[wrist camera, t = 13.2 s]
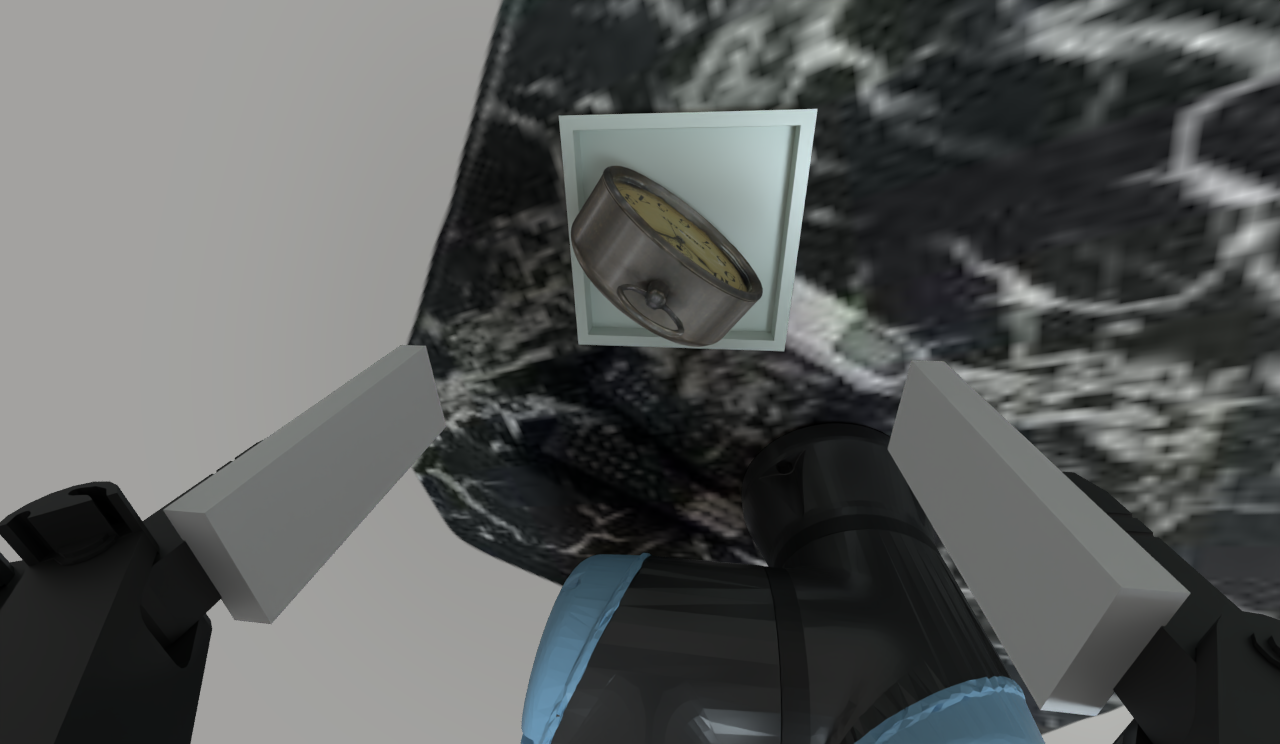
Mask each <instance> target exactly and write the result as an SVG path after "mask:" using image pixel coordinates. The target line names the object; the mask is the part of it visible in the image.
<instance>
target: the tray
mask: <svg viewBox="0 0 1280 744" xmlns="http://www.w3.org/2000/svg"><path fill="white" fill-rule="evenodd" d="M816 116H817V109H797V110H759V111H721V112H682V113H644V114H606V115H568V116H559V124H560V135H561V147H562V159H563V170H564V182H565V193H566V205H567V217H568V228H569V240H570V252H571V263H572V275H573V286H574V298H575V310H576V321H577V333H578V344H581V345H611V346H641V347H671V348H701V349H731V350H761V351H784V350H785V342H786V335H787V328H788V320H789V313H790V306H791V298H792V291H793V284H794V276H795V269H796V262H797V255H798V247H799V240H800V233H801V225H802V218H803V211H804V203H805V196H806V189H807V181H808V174H809V167H810V160H811V152H812V145H813V138H814V130H815V123H816ZM610 166H623V167H626V168H629V169H632V170H634V171H636V172H638V173H640V174H642V175H644V176H646V177H647V178H649V179H651V180H653V181H654V182H656V183H658V184H660V185H661V186H663V187H664V188H665V189H667V190H668V191H670V192H671V193H673V194H674V195H676V196H677V197H679V198H680V199H681V200H683V201H684V202H685V203H687V204H688V205H689V206H690V207H692V208H693V209H694V210H695V211H697V212H698V213H699V214H700V215H702V216H703V217H704V218H705V219H706V220H707V221H709V222H710V223H711V224H712V225H713V226H714V227H715V228H716V229H717V230H718V231H719V232H720V233H721V234H722V235H724V236H725V238H726V239H727V240H728V241H729V242H730V243H731V244H732V245H734V246H735V247H736V248H737V250H738V251H739V252H740V253H741V254H742V256H743V257H744V258H745V259H746V260H747V262H748V263H749V264H750V266H751V267H752V268H753V270H754V271H755V273H756V274H757V276H758V278H759V280H760V282H761V284H762V288H763V294H762V297H761V298H760V299H759V300H758V301H757V302H756V303H755V304H754V305H753V306H752V307H751V308H750V309H749V310H748V311H747V313H746V314H745V315H744V316H743V317H742V318H741V319H740V320H739V321H738V322H737V323H736V324H735V325H734V326H733V327H732V328H731V329H730V331H729V332H728V333H727V334H726V335H725V336H724V337H723V338H722V339H721V340H720V341H718V342H717V343H714V344H712V345H708V346H702V347H693V346H686V345H681V344H678V343H675V342H672V341H669V340H667V339H665V338H662V337H660V336H658V335H656V334H654V333H652V332H650V331H649V330H647V329H645V328H644V327H642V326H641V325H639V324H637V323H636V322H635V321H633V320H632V319H630V318H629V317H628V316H626V315H625V314H624V313H622V312H621V311H620V310H619V309H617V308H616V307H615V306H614V305H613V304H612V303H611V302H610V301H609V300H608V299H607V298H605V297H604V296H603V295H602V293H601V292H600V291H599V290H598V289H597V288H596V287H595V286H594V284H593V283H592V282H591V281H590V279H589V278H588V277H587V275H586V274H585V272H584V271H583V269H582V268H581V266H580V264H579V262H578V260H577V258H576V256H575V253H574V250H573V247H572V242H571V228H572V224H573V222H574V220H575V218H576V216H577V215H578V213H579V212H580V210H581V208H582V207H583V205H584V204H585V202H586V200H587V199H588V197H589V196H590V194H591V193H592V191H593V189H594V188H595V186H596V185H597V183H598V181H599V180H600V178H601V176H602V174H603V171H604V170H605V169H606V168H607V167H610Z"/></svg>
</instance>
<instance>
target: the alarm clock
mask: <svg viewBox="0 0 1280 744" xmlns="http://www.w3.org/2000/svg"><path fill="white" fill-rule="evenodd" d="M571 242H572V247H573V250H574V253H575V256H576V258H577V260H578V262H579V264H580V266H581V268H582V269H583V271H584V272H585V274H586V275H587V277H588V278H589V279H590V281H591V282H592V283H593V284H594V286H595V287H596V288H597V289H598V290H599V291H600V292H601V293H602V295H603V296H604V297H605V298H607V299H608V300H609V301H610V302H611V303H612V304H613V305H614V306H615V307H616V308H617V309H619V310H620V311H621V312H622V313H624V314H625V315H626V316H628V317H629V318H630V319H632V320H633V321H635V322H636V323H637V324H639V325H641V326H642V327H644V328H645V329H647V330H649V331H650V332H652V333H654V334H656V335H658V336H660V337H662V338H665V339H667V340H669V341H672V342H675V343H678V344H681V345H686V346H693V347H702V346H708V345H712V344H714V343H717V342H718V341H720V340H721V339H722V338H723V337H724V336H725V335H726V334H727V333H728V332H729V331H730V329H731V328H732V327H733V326H734V325H735V324H736V323H737V322H738V321H739V320H740V319H741V318H742V317H743V316H744V315H745V314H746V313H747V311H748V310H749V309H750V308H751V307H752V306H753V305H754V304H755V303H756V302H757V301H758V300H759V299H760V298H761V297H762V294H763V288H762V284H761V282H760V280H759V278H758V276H757V274H756V273H755V271H754V270H753V268H752V267H751V266H750V264H749V263H748V262H747V260H746V259H745V258H744V257H743V256H742V254H741V253H740V252H739V251H738V250H737V248H736V247H735V246H734V245H732V244H731V243H730V242H729V241H728V240H727V239H726V238H725V236H724V235H722V234H721V233H720V232H719V231H718V230H717V229H716V228H715V227H714V226H713V225H712V224H711V223H710V222H709V221H707V220H706V219H705V218H704V217H703V216H702V215H700V214H699V213H698V212H697V211H695V210H694V209H693V208H692V207H690V206H689V205H688V204H687V203H685V202H684V201H683V200H681V199H680V198H679V197H677V196H676V195H674V194H673V193H671V192H670V191H668V190H667V189H665V188H664V187H663V186H661V185H660V184H658V183H656V182H654V181H653V180H651V179H649V178H647V177H646V176H644V175H642V174H640V173H638V172H636V171H634V170H632V169H629V168H626V167H623V166H610V167H607V168H606V169H605V170H604V171H603V174H602V176H601V178H600V180H599V181H598V183H597V185H596V186H595V188H594V189H593V191H592V193H591V194H590V196H589V197H588V199H587V200H586V202H585V204H584V205H583V207H582V208H581V210H580V212H579V213H578V215H577V216H576V218H575V220H574V222H573V224H572V228H571Z"/></svg>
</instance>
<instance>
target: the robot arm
mask: <svg viewBox="0 0 1280 744" xmlns="http://www.w3.org/2000/svg"><path fill="white" fill-rule="evenodd" d="M445 427H446V423H445V419H444V415H443V411H442V408H441V404H440V400H439V396H438V392H437V388H436V384H435V380H434V376H433V372H432V368H431V365H430V361H429V357H428V353H427V349H426V346H413V345H400V346H399V347H398V348H396V349H395V350H393V351H392V352H391V353H389V354H387V355H386V356H385V357H383V358H382V359H380V360H379V361H377V362H376V363H374V364H373V365H371V366H370V367H369V368H367V369H366V370H364V371H363V372H361V373H360V374H358V375H357V376H356V377H354V378H353V379H351V380H350V381H348V382H347V383H345V384H344V385H343V386H341V387H340V388H338V389H337V390H336V391H334V392H333V393H331V394H330V395H328V396H327V397H326V398H324V399H322V400H321V401H319V402H318V403H317V404H315V405H314V406H312V407H311V408H309V409H308V410H306V411H305V412H304V413H302V414H301V415H299V416H298V417H296V418H295V419H294V420H292V421H291V422H289V423H288V424H286V425H285V426H284V427H282V428H281V429H279V430H278V431H276V432H275V433H273V434H272V435H270V436H269V437H267V438H266V439H264V440H262V441H260V442H258V443H256V444H255V445H253V446H252V447H250V448H249V449H247V450H246V451H244V452H243V453H241V454H240V455H239V456H237V457H236V458H235V460H234V461H230V462H228V463H227V464H225V465H224V466H222V467H221V468H220V469H218V470H217V472H216V473H215V474H211V475H209V476H208V477H206V478H205V479H204V480H202V481H201V482H199V483H198V484H196V485H195V486H193V487H192V488H191V489H189V490H188V491H186V492H185V493H183V494H182V495H180V496H179V497H177V498H176V499H174V500H173V501H172V502H170V503H169V504H167V505H166V506H164V507H163V508H161V509H160V510H159V511H157V512H156V513H154V514H153V515H151V516H150V517H148V518H147V519H146V520H144V521H142V520H141V519H140V517H139V516H138V514H137V513H136V512H135V510H134V509H133V507H132V506H131V504H130V503H129V502H128V500H127V498H125V496H124V494H123V493H122V491H121V490H120V488H119V487H118V486H117V485H116V484H113V483H111V482H91V483H86V484H81V485H76V486H72V487H69V488H66V489H63V490H60V491H57V492H54V493H51V494H49V495H47V496H44V497H42V498H40V499H38V500H35V501H33V502H31V503H29V504H27V505H25V506H23V507H22V508H20V509H18V510H17V511H15V512H13V513H12V514H10V515H8V516H7V517H6V518H5V519H3V520H2V521H1V522H0V535H1V536H2V537H3V538H4V539H5V540H6V541H7V543H8V544H9V545H10V546H11V547H12V548H13V549H14V550H15V552H16V553H17V554H18V555H19V556H20V557H21V558H22V559H23V560H22V561H16V562H10V563H9V561H8V560H7V559H6V558H5V557H4V556H3V555H2V554H1V553H0V744H190V743H191V737H192V732H193V727H194V722H195V716H196V711H197V706H198V700H199V695H200V690H201V685H202V679H203V674H204V669H205V664H206V658H207V653H208V648H209V642H210V637H211V632H212V626H211V620H210V619H209V617H208V616H207V615H206V612H207V611H208V610H209V609H211V607H212V606H214V605H215V604H216V603H217V602H218V601H219V600H220V599H221V600H222V601H223V603H224V604H225V606H226V607H227V609H228V610H229V612H230V613H231V615H232V616H233V618H234V619H235V620H240V621H249V622H258V623H266V624H272V623H273V621H274V620H275V619H276V618H277V617H278V616H279V615H280V613H281V612H282V611H283V610H284V609H285V608H286V607H287V606H288V604H289V603H290V602H291V601H292V600H293V599H294V598H295V597H296V595H297V594H298V593H299V592H300V591H301V590H302V589H303V588H304V586H305V585H306V584H307V583H308V582H309V581H310V580H311V578H312V577H313V576H314V575H315V574H316V573H317V572H318V570H319V569H320V568H321V567H322V566H323V565H324V564H325V563H326V561H327V560H328V559H329V558H330V557H331V556H332V555H333V554H334V553H335V551H336V550H337V549H338V548H339V547H340V546H341V545H342V543H343V542H344V541H345V540H346V539H347V538H348V537H349V536H350V534H351V533H352V532H353V531H354V530H355V529H356V528H357V527H358V525H359V524H360V523H361V522H362V521H363V520H364V519H365V518H366V516H367V515H368V514H369V513H370V512H371V511H372V510H373V509H374V507H375V506H376V505H377V504H378V503H379V502H380V501H381V499H382V498H383V497H384V496H385V495H386V494H387V493H388V492H389V490H390V489H391V488H392V487H393V486H394V485H395V484H396V483H397V481H398V480H399V479H400V478H401V477H402V476H403V475H404V473H405V472H406V471H407V470H408V469H409V468H410V467H411V466H412V464H413V463H414V462H415V461H416V460H417V459H418V458H419V457H420V455H421V454H422V453H423V452H424V451H425V450H426V449H427V448H428V446H429V445H430V444H431V443H432V442H433V441H434V440H435V439H436V437H437V436H438V435H439V434H440V433H441V432H442V431H443V429H444V428H445ZM741 496H742V506H743V515H744V519H745V523H746V526H747V528H748V531H749V533H750V535H751V537H752V538H753V540H754V542H755V544H756V545H757V547H758V549H759V551H760V552H761V554H762V556H763V558H764V559H765V561H766V563H767V565H768V566H769V567H764V566H759V565H747V564H736V563H725V562H714V561H702V560H691V559H680V558H668V557H657V556H652V555H651V554H649V553H642V554H641V555H611V554H599V555H594V556H591V557H589V558H587V559H585V560H584V561H582V562H581V563H580V564H579V565H578V566H577V567H576V568H575V569H574V570H573V571H572V573H571V574H570V575H569V577H568V578H567V580H566V581H565V583H564V585H563V587H562V589H561V591H560V593H559V595H558V597H557V599H556V601H555V604H554V606H553V608H552V611H551V613H550V616H549V618H548V621H547V623H546V626H545V629H544V632H543V635H542V638H541V641H540V644H539V647H538V650H537V653H536V657H535V661H534V664H533V668H532V672H531V676H530V680H529V684H528V689H527V693H526V698H525V703H524V709H523V716H522V732H523V736H522V740H521V744H1045V742H1044V740H1043V738H1042V736H1041V734H1040V732H1039V730H1038V727H1037V725H1036V723H1035V721H1034V719H1033V717H1032V715H1031V713H1030V711H1029V709H1028V706H1027V704H1026V702H1025V696H1024V694H1023V691H1022V689H1021V688H1020V687H1019V685H1018V684H1017V683H1016V682H1015V681H1014V680H1012V678H1011V677H1010V675H1009V673H1008V671H1007V670H1006V668H1005V666H1004V664H1003V663H1002V661H1001V659H1000V657H999V656H998V654H997V652H996V650H995V649H994V647H993V645H992V643H991V642H990V640H989V638H988V636H987V635H986V633H985V631H984V629H983V628H982V626H981V624H980V623H979V621H978V619H977V617H976V616H975V614H974V612H973V610H972V609H971V607H970V605H969V603H968V602H967V600H966V598H965V596H964V595H963V593H962V591H961V589H960V588H959V586H958V584H957V582H956V581H955V579H954V577H953V575H952V574H951V572H950V570H949V568H948V567H947V565H946V563H945V562H944V560H943V558H942V557H941V555H940V553H939V551H938V549H937V548H936V546H935V544H934V535H933V528H934V529H935V531H936V533H937V534H938V536H939V538H940V539H941V541H942V543H943V545H944V546H945V548H946V550H947V551H948V553H949V555H950V557H951V558H952V560H953V562H954V563H955V565H956V567H957V568H958V570H959V572H960V574H961V575H962V577H963V579H964V580H965V582H966V584H967V585H968V587H969V589H970V591H971V592H972V594H973V596H974V597H975V599H976V601H977V603H978V604H979V606H980V608H981V609H982V611H983V613H984V614H985V616H986V618H987V620H988V621H989V623H990V625H991V626H992V628H993V630H994V631H995V633H996V635H997V637H998V638H999V640H1000V642H1001V643H1002V645H1003V647H1004V649H1005V650H1006V652H1007V654H1008V655H1009V657H1010V659H1011V660H1012V662H1013V664H1014V666H1015V667H1016V669H1017V671H1018V672H1019V674H1020V676H1021V677H1022V679H1023V681H1024V683H1025V684H1026V686H1027V688H1028V689H1029V691H1030V693H1031V695H1032V696H1033V698H1034V700H1035V701H1036V703H1037V705H1038V706H1039V708H1040V710H1047V711H1056V712H1065V713H1074V714H1083V715H1092V716H1096V715H1097V714H1098V713H1099V711H1100V710H1101V709H1102V708H1103V706H1104V705H1105V704H1106V702H1107V701H1108V700H1109V698H1110V697H1111V696H1112V695H1113V693H1114V692H1115V693H1116V694H1117V696H1118V697H1119V698H1120V700H1121V701H1122V703H1123V704H1124V705H1125V707H1126V708H1127V709H1128V711H1129V712H1130V713H1131V715H1132V716H1133V717H1134V719H1133V720H1132V722H1131V723H1130V724H1129V725H1128V726H1127V728H1126V729H1125V730H1124V731H1123V732H1122V733H1121V735H1120V736H1119V737H1118V738H1117V739H1116V740H1115V742H1114V743H1113V744H1280V620H1277V619H1275V618H1272V617H1269V616H1266V615H1263V614H1256V613H1250V612H1244V611H1241V610H1240V609H1239V608H1238V607H1237V606H1236V605H1235V604H1233V603H1232V602H1231V601H1230V600H1229V599H1228V598H1227V597H1226V596H1224V595H1223V594H1222V593H1221V592H1220V591H1219V590H1218V589H1217V588H1215V587H1214V586H1213V585H1212V584H1211V583H1210V582H1209V581H1207V580H1206V579H1205V578H1204V577H1203V576H1202V575H1201V574H1200V573H1198V572H1197V571H1196V570H1195V569H1194V568H1193V567H1192V566H1190V565H1189V564H1188V563H1187V562H1186V561H1185V560H1184V559H1183V558H1181V557H1180V556H1179V555H1178V554H1177V553H1176V552H1175V551H1173V550H1172V549H1171V548H1170V547H1169V546H1168V545H1167V544H1166V543H1164V542H1163V541H1162V540H1161V539H1160V538H1159V537H1154V536H1153V532H1152V531H1151V530H1150V529H1149V528H1147V527H1146V526H1145V525H1144V524H1143V523H1142V522H1141V521H1139V520H1138V519H1137V518H1132V513H1130V512H1129V511H1128V510H1127V509H1126V508H1125V507H1124V506H1122V505H1121V504H1120V503H1119V502H1118V501H1117V500H1116V499H1115V498H1113V497H1112V496H1111V495H1110V494H1109V493H1108V492H1106V491H1105V490H1103V489H1101V488H1100V487H1098V486H1096V485H1094V484H1093V483H1091V482H1089V481H1088V480H1086V479H1084V478H1082V477H1081V476H1079V475H1077V474H1076V473H1072V472H1061V471H1060V470H1059V469H1058V468H1057V467H1056V466H1055V465H1054V464H1053V463H1052V462H1051V461H1050V460H1048V459H1047V458H1046V457H1045V456H1044V455H1043V454H1042V453H1041V452H1040V451H1039V450H1038V449H1037V448H1036V447H1035V446H1034V445H1032V444H1031V443H1030V442H1029V441H1028V440H1027V439H1026V438H1025V437H1024V436H1023V435H1022V434H1021V433H1020V432H1019V431H1018V430H1017V429H1015V428H1014V427H1013V426H1012V425H1011V424H1010V423H1009V422H1008V421H1007V420H1006V419H1005V418H1004V417H1003V416H1002V415H1001V414H999V413H998V412H997V411H996V410H995V409H994V408H993V407H992V406H991V405H990V404H989V403H988V402H987V401H986V400H985V399H983V398H982V397H981V396H980V395H979V394H978V393H977V392H976V391H975V390H974V389H973V388H972V387H971V386H970V385H969V384H968V383H966V382H965V381H964V380H963V379H962V378H961V377H960V376H959V375H958V374H957V373H956V372H955V371H954V370H953V369H952V368H950V367H949V366H948V365H947V364H946V363H945V362H944V361H915V360H911V364H910V368H909V371H908V375H907V379H906V383H905V386H904V390H903V394H902V397H901V401H900V405H899V408H898V412H897V416H896V420H895V423H894V427H893V431H892V434H891V438H890V437H889V436H887V435H885V434H883V433H881V432H879V431H876V430H874V429H871V428H867V427H864V426H859V425H853V424H843V423H830V424H820V425H813V426H809V427H805V428H801V429H798V430H795V431H793V432H790V433H788V434H786V435H784V436H782V437H780V438H778V439H777V440H775V441H773V442H772V443H770V444H769V445H768V446H767V447H765V448H764V449H763V450H762V451H761V452H760V453H759V454H758V455H757V456H756V457H755V459H754V460H753V461H752V463H751V464H750V466H749V467H748V469H747V471H746V473H745V476H744V479H743V483H742V491H741Z"/></svg>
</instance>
